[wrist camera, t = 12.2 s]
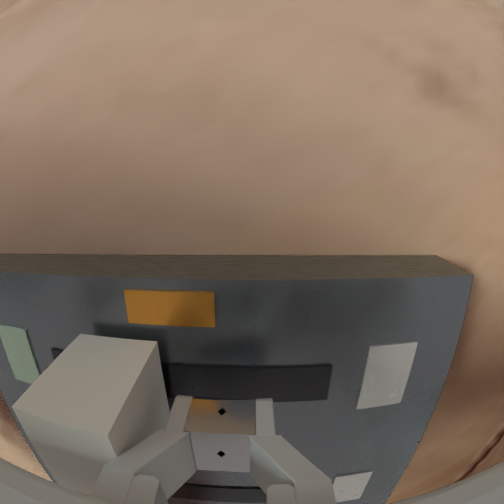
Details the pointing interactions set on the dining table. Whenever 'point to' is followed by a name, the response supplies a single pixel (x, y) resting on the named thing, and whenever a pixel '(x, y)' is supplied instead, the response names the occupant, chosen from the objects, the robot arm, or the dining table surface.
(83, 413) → the block
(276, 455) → the robot arm
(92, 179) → the dining table surface
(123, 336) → the breaker box
